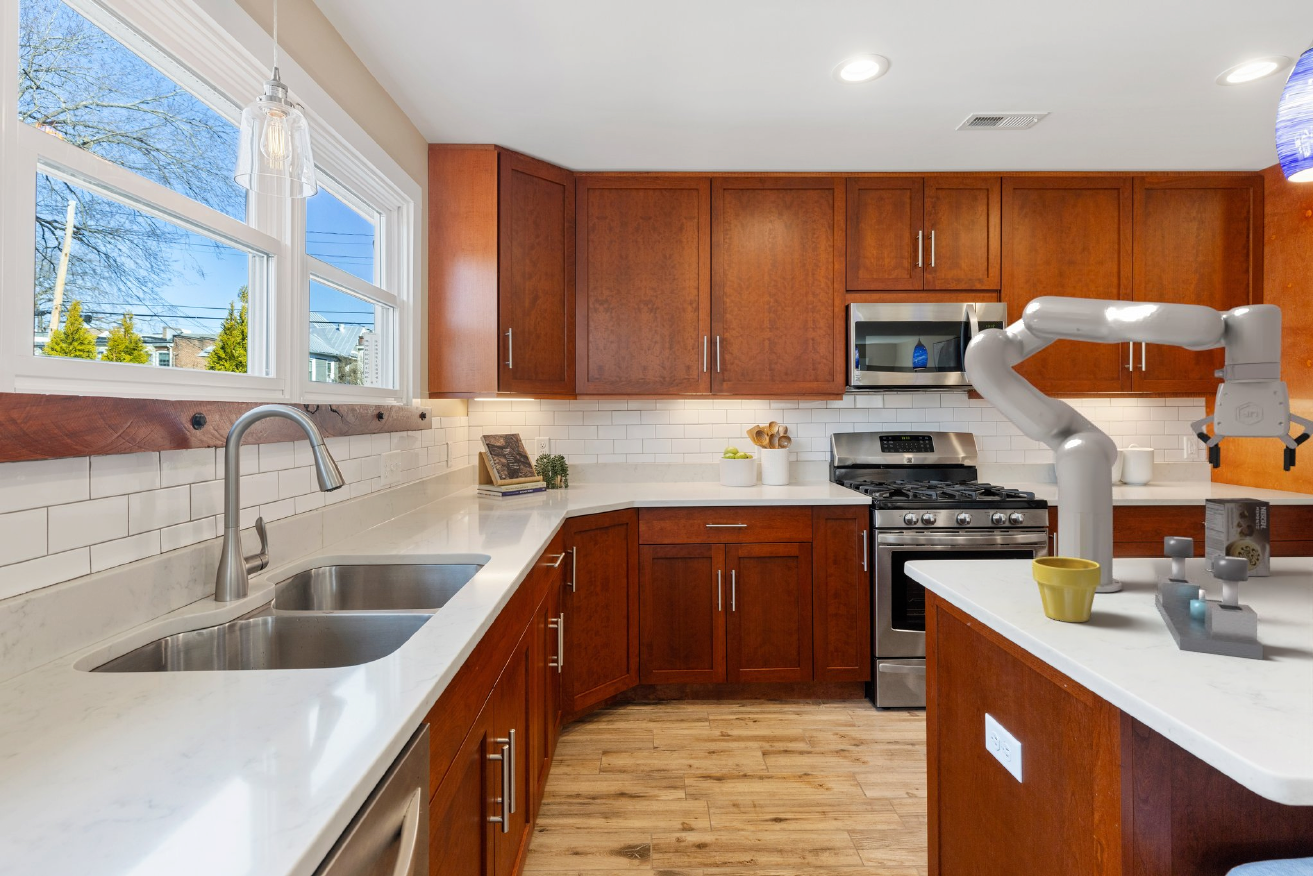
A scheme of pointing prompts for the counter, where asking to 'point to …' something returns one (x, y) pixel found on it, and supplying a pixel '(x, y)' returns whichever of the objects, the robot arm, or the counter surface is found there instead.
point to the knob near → (1230, 576)
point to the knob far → (1178, 553)
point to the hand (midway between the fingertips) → (1250, 469)
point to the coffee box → (1238, 532)
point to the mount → (1207, 621)
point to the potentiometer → (1198, 606)
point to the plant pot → (1066, 586)
